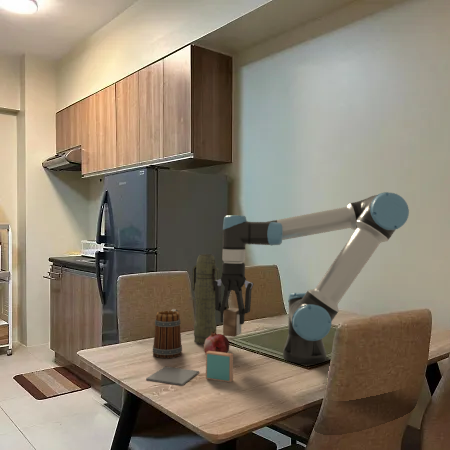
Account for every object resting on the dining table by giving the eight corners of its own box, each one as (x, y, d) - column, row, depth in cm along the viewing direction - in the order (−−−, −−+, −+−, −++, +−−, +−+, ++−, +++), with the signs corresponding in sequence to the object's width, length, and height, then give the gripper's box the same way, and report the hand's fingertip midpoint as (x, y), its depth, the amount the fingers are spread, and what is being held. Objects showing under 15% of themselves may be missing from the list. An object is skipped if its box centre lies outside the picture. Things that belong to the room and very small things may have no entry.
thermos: (214, 345, 168) (215, 255, 168) (187, 342, 173) (188, 254, 173) (222, 340, 177) (224, 254, 177) (196, 337, 181) (197, 253, 181)
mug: (176, 359, 150) (177, 316, 150) (148, 357, 152) (148, 314, 152) (189, 347, 166) (189, 308, 166) (163, 345, 168) (163, 306, 168)
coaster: (199, 372, 137) (199, 371, 137) (182, 385, 126) (182, 383, 126) (165, 367, 142) (165, 366, 142) (146, 379, 130) (146, 378, 130)
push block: (240, 332, 145) (241, 308, 145) (234, 336, 139) (235, 311, 139) (229, 331, 146) (230, 307, 146) (223, 335, 141) (223, 310, 141)
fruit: (232, 355, 157) (233, 327, 157) (224, 363, 148) (224, 333, 148) (209, 352, 160) (209, 325, 160) (199, 359, 151) (199, 331, 151)
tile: (232, 380, 131) (233, 353, 131) (230, 382, 129) (230, 355, 129) (208, 376, 134) (208, 350, 134) (205, 378, 132) (205, 352, 132)
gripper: (261, 262, 144) (260, 333, 143) (213, 260, 150) (212, 328, 149) (255, 264, 136) (253, 338, 136) (205, 261, 143) (203, 332, 142)
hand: (232, 333), depth 143 cm, fingers closed on push block, 4 cm apart
